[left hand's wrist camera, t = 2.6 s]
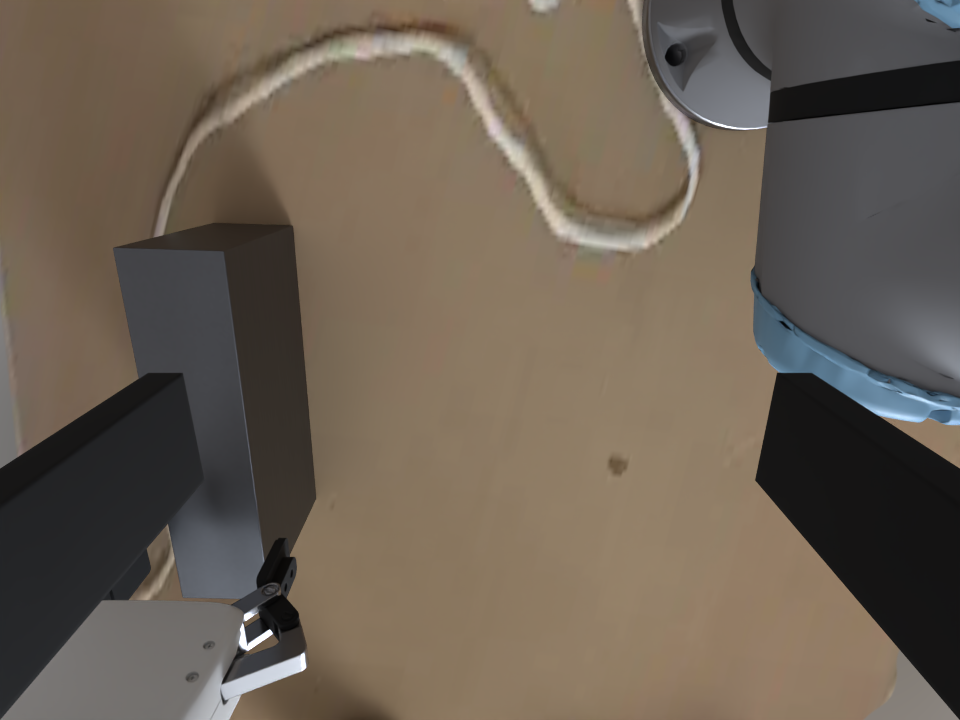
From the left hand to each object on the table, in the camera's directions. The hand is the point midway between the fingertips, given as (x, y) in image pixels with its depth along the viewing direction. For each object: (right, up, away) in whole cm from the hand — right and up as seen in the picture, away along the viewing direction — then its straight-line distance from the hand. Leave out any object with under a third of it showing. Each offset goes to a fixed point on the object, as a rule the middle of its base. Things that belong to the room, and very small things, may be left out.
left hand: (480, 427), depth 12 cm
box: (-18, 0, +34) cm, 39 cm away
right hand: (-18, -12, +25) cm, 33 cm away
